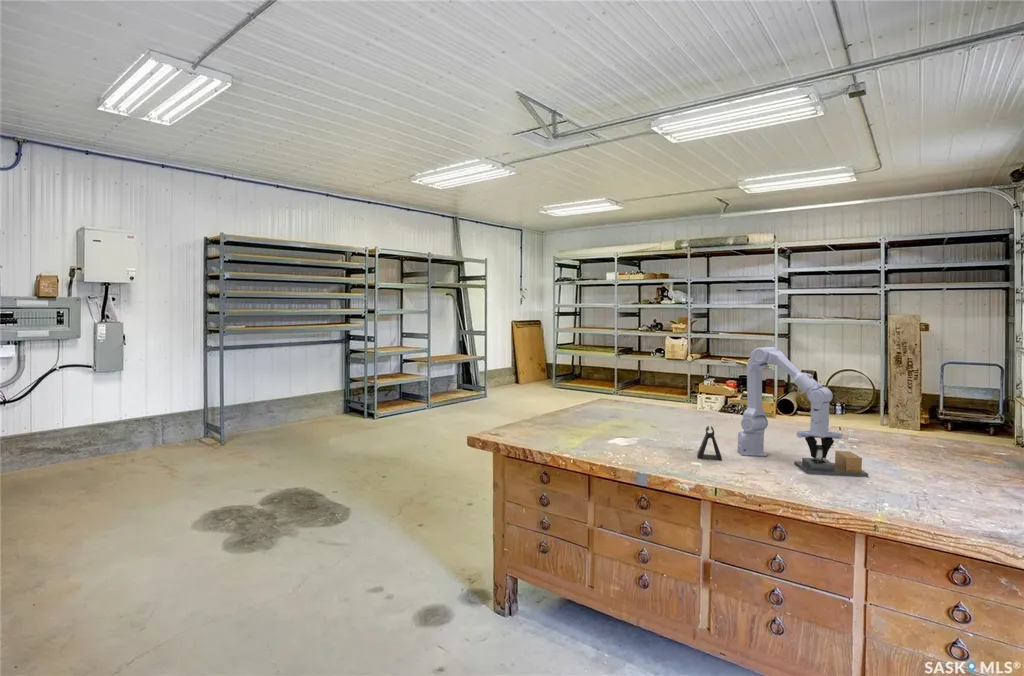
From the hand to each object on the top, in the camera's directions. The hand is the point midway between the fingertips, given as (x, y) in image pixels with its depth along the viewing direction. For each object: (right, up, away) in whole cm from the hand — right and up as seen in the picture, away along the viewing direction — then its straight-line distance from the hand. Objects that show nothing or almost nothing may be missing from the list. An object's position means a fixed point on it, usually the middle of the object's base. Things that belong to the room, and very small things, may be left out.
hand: (818, 457), depth 192 cm
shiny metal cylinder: (0, -3, 0) cm, 3 cm away
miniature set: (+36, -3, +43) cm, 56 cm away
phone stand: (-34, -4, +16) cm, 38 cm away
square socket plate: (+4, -5, 0) cm, 6 cm away
